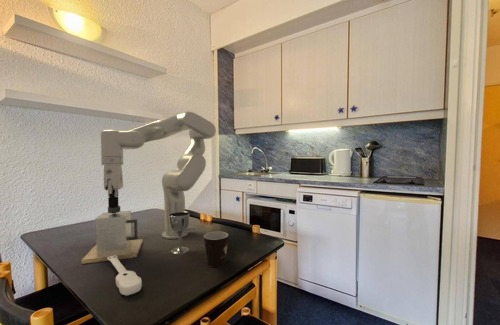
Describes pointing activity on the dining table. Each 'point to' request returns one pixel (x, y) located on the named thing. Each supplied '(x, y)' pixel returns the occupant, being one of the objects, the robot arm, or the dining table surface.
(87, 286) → the dining table surface
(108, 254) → the press
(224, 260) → the coffee mug
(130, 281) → the white toy guitar
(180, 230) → the wine glass
